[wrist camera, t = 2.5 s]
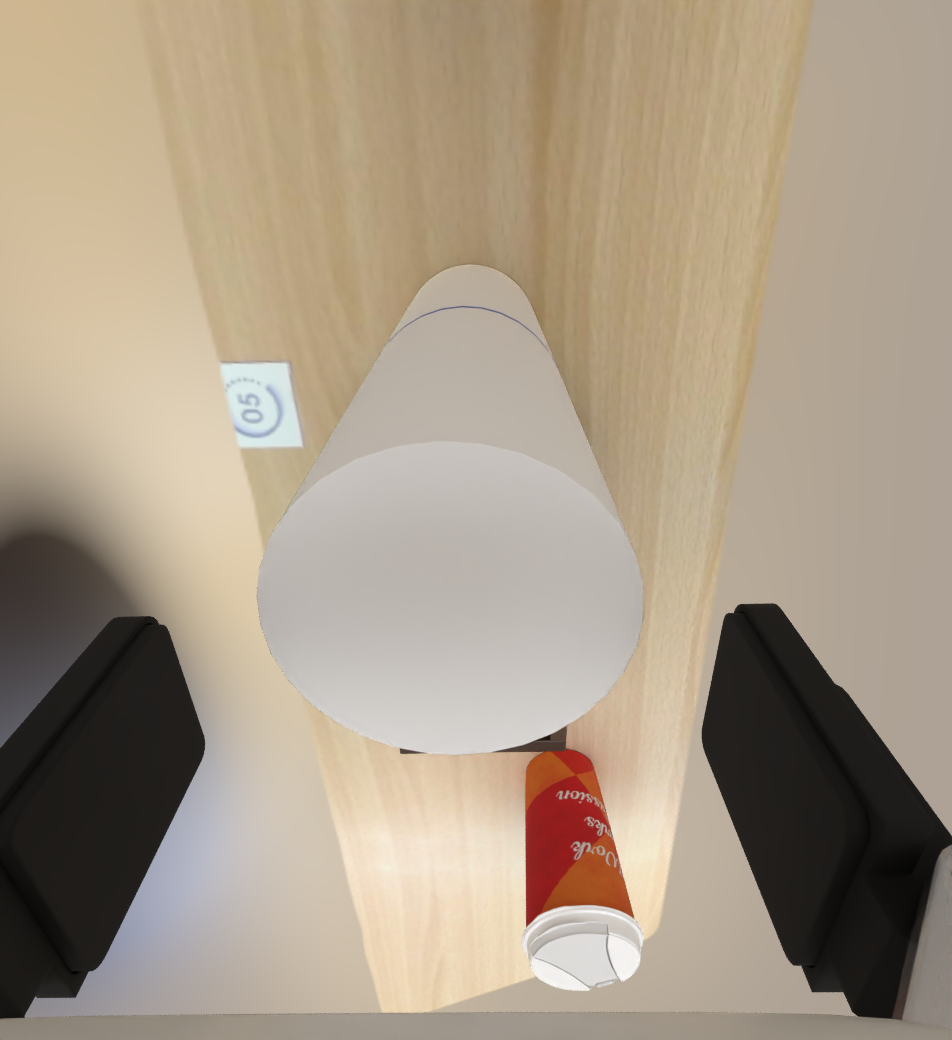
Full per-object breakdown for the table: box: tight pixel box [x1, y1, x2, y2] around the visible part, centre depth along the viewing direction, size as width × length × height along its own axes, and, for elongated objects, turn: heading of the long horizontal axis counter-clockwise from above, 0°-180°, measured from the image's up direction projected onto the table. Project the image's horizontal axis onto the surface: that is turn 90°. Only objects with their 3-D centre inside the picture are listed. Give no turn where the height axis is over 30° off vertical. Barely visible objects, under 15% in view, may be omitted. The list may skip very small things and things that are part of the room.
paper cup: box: [522, 749, 644, 991], centre depth 44 cm, size 8×8×14 cm
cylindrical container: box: [257, 264, 644, 755], centre depth 22 cm, size 7×7×25 cm
